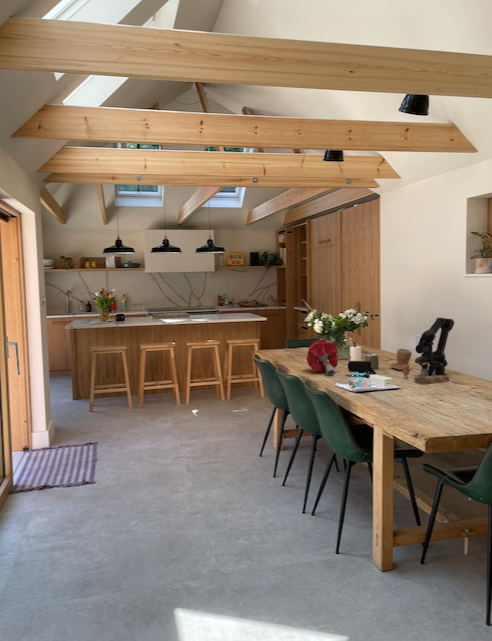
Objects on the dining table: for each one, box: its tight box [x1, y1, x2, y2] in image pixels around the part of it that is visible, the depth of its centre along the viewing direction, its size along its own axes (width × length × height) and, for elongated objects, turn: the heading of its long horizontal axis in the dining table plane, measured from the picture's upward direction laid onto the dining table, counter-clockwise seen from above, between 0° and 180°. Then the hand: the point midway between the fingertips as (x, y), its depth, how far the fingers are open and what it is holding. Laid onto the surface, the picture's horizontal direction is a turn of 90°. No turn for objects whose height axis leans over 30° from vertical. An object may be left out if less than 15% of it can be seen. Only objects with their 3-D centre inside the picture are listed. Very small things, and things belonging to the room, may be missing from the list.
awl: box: [402, 364, 410, 380], centre depth 331 cm, size 4×4×9 cm
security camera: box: [347, 360, 377, 375], centre depth 343 cm, size 7×18×10 cm, turn 78°
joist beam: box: [413, 375, 450, 385], centre depth 320 cm, size 21×7×3 cm, turn 111°
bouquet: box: [306, 339, 339, 377], centre depth 357 cm, size 22×24×30 cm
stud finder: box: [419, 368, 435, 377], centre depth 333 cm, size 8×4×5 cm, turn 110°
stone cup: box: [389, 348, 412, 371], centre depth 363 cm, size 15×12×15 cm
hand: (427, 375), depth 333 cm, fingers closed on stud finder, 4 cm apart
